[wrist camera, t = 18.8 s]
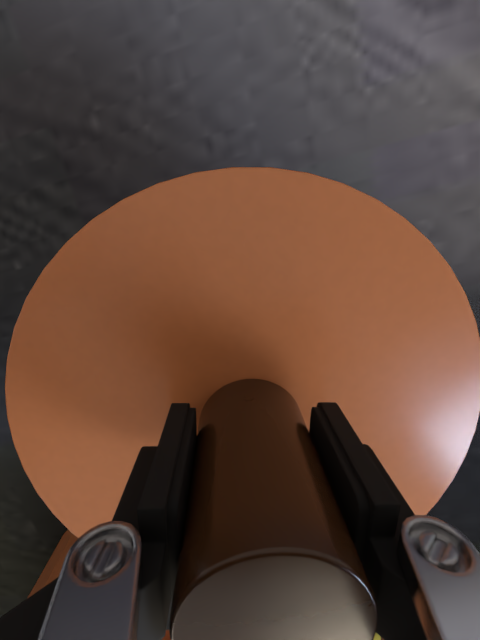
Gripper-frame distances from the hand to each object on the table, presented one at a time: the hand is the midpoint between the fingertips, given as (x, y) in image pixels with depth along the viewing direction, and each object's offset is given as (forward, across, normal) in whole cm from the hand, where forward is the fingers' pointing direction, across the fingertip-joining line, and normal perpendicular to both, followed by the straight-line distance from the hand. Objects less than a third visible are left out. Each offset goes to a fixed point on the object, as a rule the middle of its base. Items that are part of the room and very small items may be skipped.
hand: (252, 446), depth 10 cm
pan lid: (+2, 0, 0) cm, 2 cm away
